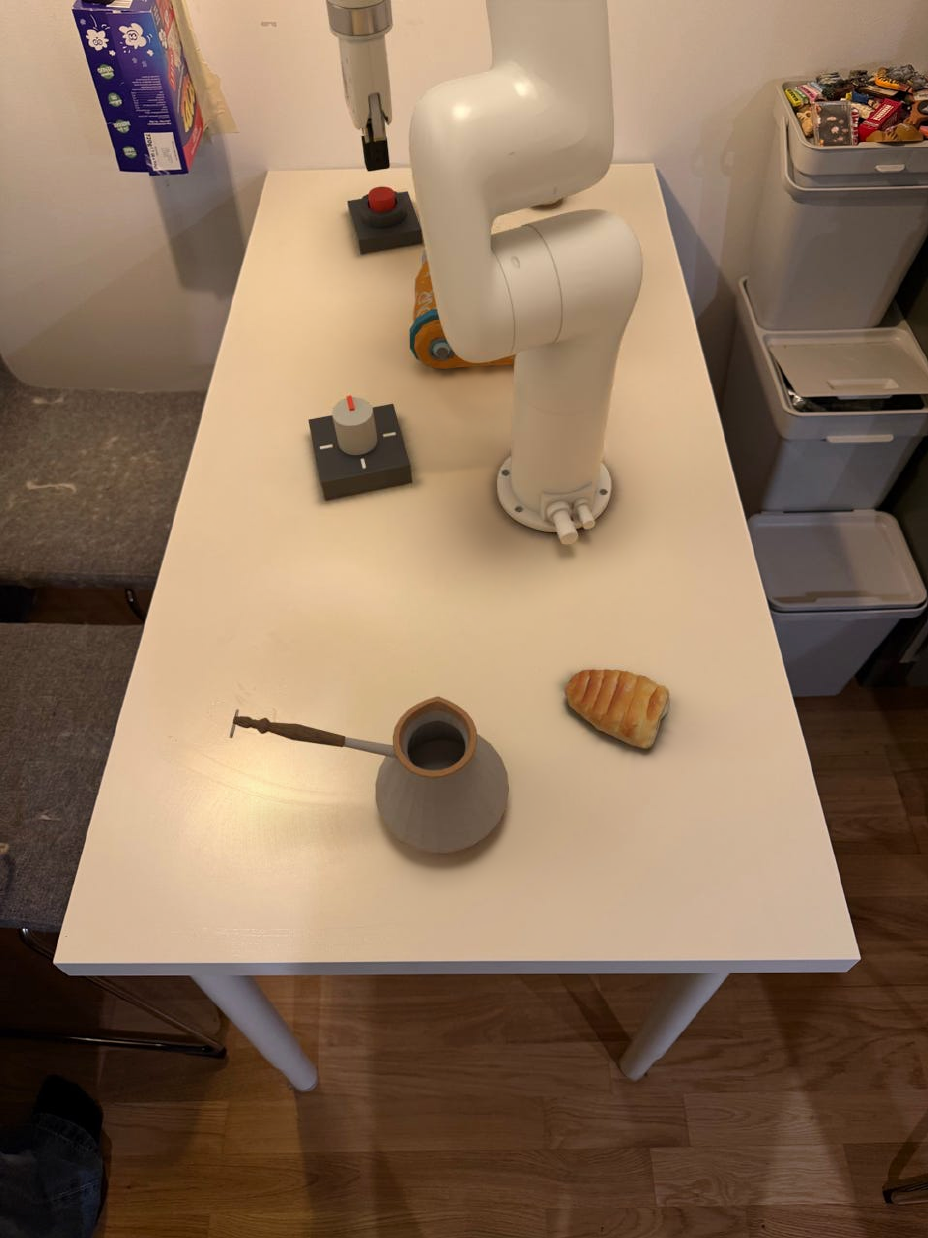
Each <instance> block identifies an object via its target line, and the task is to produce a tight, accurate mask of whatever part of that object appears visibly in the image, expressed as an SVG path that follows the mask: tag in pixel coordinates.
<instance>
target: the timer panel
mask: <svg viewBox="0 0 928 1238" xmlns="http://www.w3.org/2000/svg"><path fill="white" fill-rule="evenodd" d="M372 408H373V414H374V420H375V426H376V432H377V439H378V440H377V444H376V446H375V447H374V448H373V449H372V450H371V451H370V452H368V453H366V454H362V455H350V454H347V453H345V452H344V451H342V450H341V448H340V447H339V444H338V439H337V435H336V430H335V425H334V421H333V416H332V414H330V415H326V416H320V417H315V418H310V419H308V420H307V422H308V426H309V431H310V436H311V441H312V447H313V451H314V458H315V460H316V467H317V472H318V477H319V482H320V486H321V491H322V494H323V498H324V501H329V500H334V499H340V498H344V497H349V496H354V495H359V494H364V493H369V492H374V491H380V490H385V489H389V488H395V487H400V486H404V485H410V484H413V474H412V466H411V462H410V458H409V454H408V450H407V447H406V443H405V440H404V437H403V433H402V430H401V429H402V428H401V425H400V422H399V419H398V415H397V412H396V408H395V404H394V403H388V404H384V405H378V406H372Z"/></svg>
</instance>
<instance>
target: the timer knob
mask: <svg viewBox="0 0 928 1238" xmlns="http://www.w3.org/2000/svg"><path fill="white" fill-rule="evenodd" d="M372 407H373V406H372V404H371V402H370V401H368V400H367V399H366V398H365V399H364V398H362V397H359V396H352V395H351V394H350V395H346V398H343V399H341V400H339V401H337V403H336V404H335V405H334V406H333V408H332V411H331V415H332V416H333V421H334V425H335V430H336V435H337V439H338V444H339V447H340V448H341V450H342V451H344V452H345V453H347V454H350V455H362V454H366V453H368V452H370V451H371V450H372V449H373V448H374V447H375V446H376V444H377V440H378V439H377V432H376V426H375V420H374V414H373V408H372Z"/></svg>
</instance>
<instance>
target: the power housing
mask: <svg viewBox="0 0 928 1238" xmlns="http://www.w3.org/2000/svg"><path fill="white" fill-rule="evenodd" d="M393 191H394V196H395V207H394V208H393V209H391V210H389V211H383V212H379V211H374V210H372V209H371V208H370V203H369V196H368V194H369V193H367V194H365V195H363V196H362V197H361V198H355V199H351V200H347V202H346V203H347V210H348V215H349V220H350V222H351V226H352V229H353V233H354V236H355V240H356V243H357V247H358V250H359V253H360V255H365V254H370V253H377V252H382V251H388V250H395V249H400V248H407V247H412V246H413V247H414V246H419V245H424V238H423V233H422V228H421V223H420V220H419V218H418V215H417V212H416V210H415V207H414V205H413V201H412V199H411V197H410V193H409V191H408V190H407V191H401V192H398V191H396V190H393Z"/></svg>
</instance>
